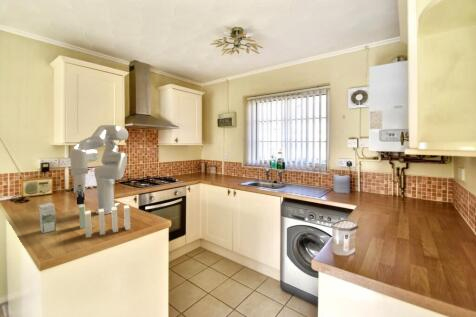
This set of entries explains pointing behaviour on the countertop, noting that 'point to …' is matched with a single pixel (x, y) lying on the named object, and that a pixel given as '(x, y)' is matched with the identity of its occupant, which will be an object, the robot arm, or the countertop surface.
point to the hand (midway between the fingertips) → (80, 202)
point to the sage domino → (82, 216)
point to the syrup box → (47, 217)
